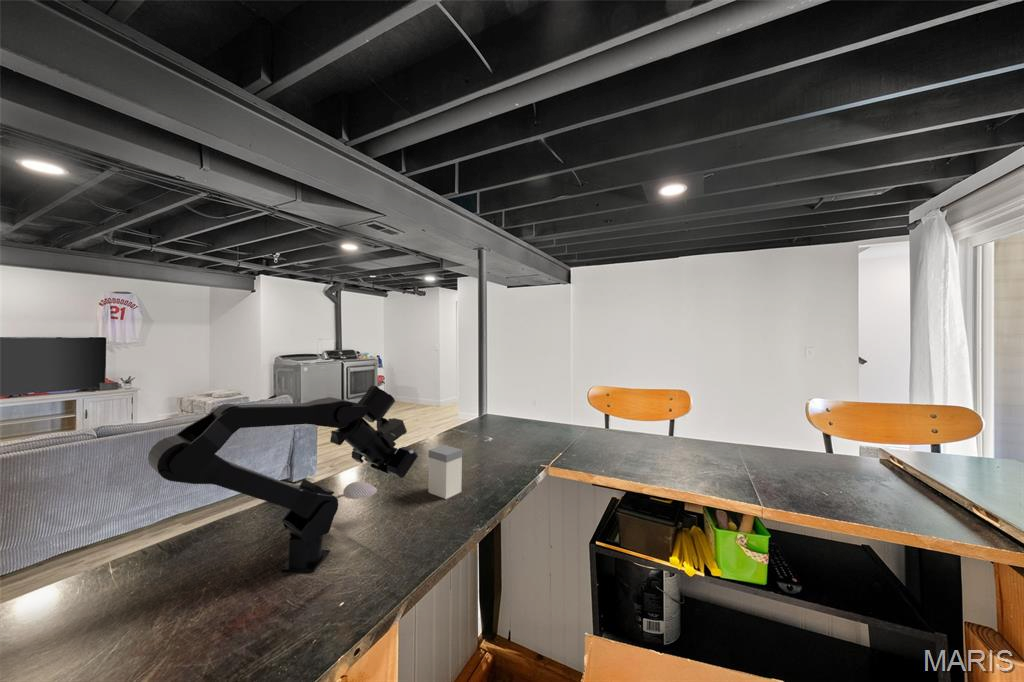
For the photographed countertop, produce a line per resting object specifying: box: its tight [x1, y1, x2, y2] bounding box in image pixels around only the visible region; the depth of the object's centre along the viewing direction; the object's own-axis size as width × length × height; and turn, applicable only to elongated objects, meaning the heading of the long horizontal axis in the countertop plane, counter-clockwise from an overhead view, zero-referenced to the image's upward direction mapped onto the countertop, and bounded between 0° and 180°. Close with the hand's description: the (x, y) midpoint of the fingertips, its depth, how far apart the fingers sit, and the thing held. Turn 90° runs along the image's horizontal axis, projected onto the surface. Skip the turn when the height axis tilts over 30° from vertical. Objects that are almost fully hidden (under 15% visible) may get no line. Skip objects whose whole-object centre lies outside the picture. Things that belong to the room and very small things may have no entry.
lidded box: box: [428, 444, 463, 500], centre depth 103 cm, size 6×7×12 cm
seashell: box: [342, 481, 378, 500], centre depth 102 cm, size 10×6×10 cm
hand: (403, 473), depth 91 cm, fingers closed
